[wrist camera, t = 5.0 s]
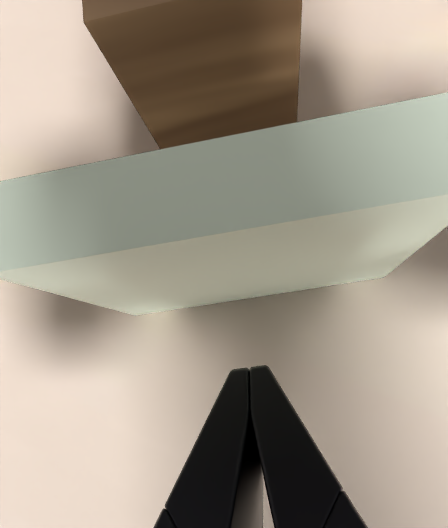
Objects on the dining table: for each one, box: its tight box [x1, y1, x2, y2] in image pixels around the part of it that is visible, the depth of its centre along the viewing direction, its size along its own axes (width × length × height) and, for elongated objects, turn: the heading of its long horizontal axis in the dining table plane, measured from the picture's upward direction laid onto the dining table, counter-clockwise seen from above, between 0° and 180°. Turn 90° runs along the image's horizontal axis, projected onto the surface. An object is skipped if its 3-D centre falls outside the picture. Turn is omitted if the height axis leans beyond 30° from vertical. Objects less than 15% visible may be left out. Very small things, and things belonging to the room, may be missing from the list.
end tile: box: [0, 92, 448, 316], centre depth 13 cm, size 2×10×9 cm, turn 97°
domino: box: [82, 0, 302, 149], centre depth 14 cm, size 2×5×9 cm, turn 97°
